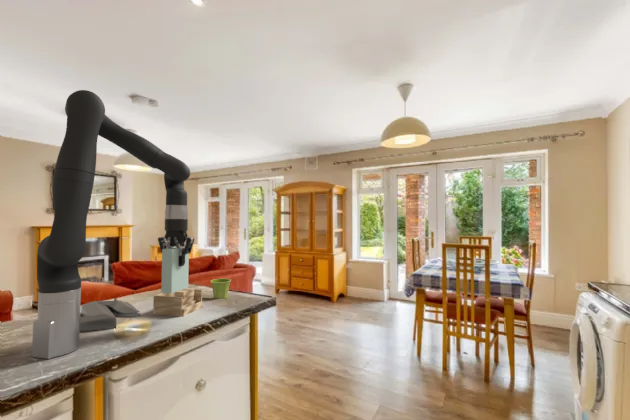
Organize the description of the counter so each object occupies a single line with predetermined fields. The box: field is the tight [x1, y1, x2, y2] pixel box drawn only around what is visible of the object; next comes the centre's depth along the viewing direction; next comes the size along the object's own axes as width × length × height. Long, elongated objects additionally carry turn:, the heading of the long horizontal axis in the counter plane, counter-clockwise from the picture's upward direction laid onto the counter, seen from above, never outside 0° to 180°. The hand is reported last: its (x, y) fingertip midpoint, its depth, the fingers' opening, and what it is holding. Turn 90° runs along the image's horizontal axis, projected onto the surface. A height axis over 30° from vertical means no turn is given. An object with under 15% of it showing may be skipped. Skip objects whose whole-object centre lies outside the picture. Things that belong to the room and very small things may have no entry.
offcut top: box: [175, 287, 195, 299], centre depth 120 cm, size 6×4×2 cm, turn 163°
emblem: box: [80, 300, 141, 333], centre depth 111 cm, size 28×5×28 cm
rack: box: [152, 288, 203, 318], centre depth 119 cm, size 13×13×8 cm
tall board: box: [160, 247, 190, 294], centre depth 107 cm, size 9×4×15 cm, turn 167°
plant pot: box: [210, 278, 232, 300], centre depth 141 cm, size 9×9×9 cm
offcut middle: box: [183, 295, 194, 306], centre depth 118 cm, size 8×4×2 cm, turn 170°
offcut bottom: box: [183, 300, 196, 309], centre depth 119 cm, size 10×4×3 cm, turn 167°
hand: (175, 265), depth 107 cm, fingers closed on tall board, 4 cm apart
